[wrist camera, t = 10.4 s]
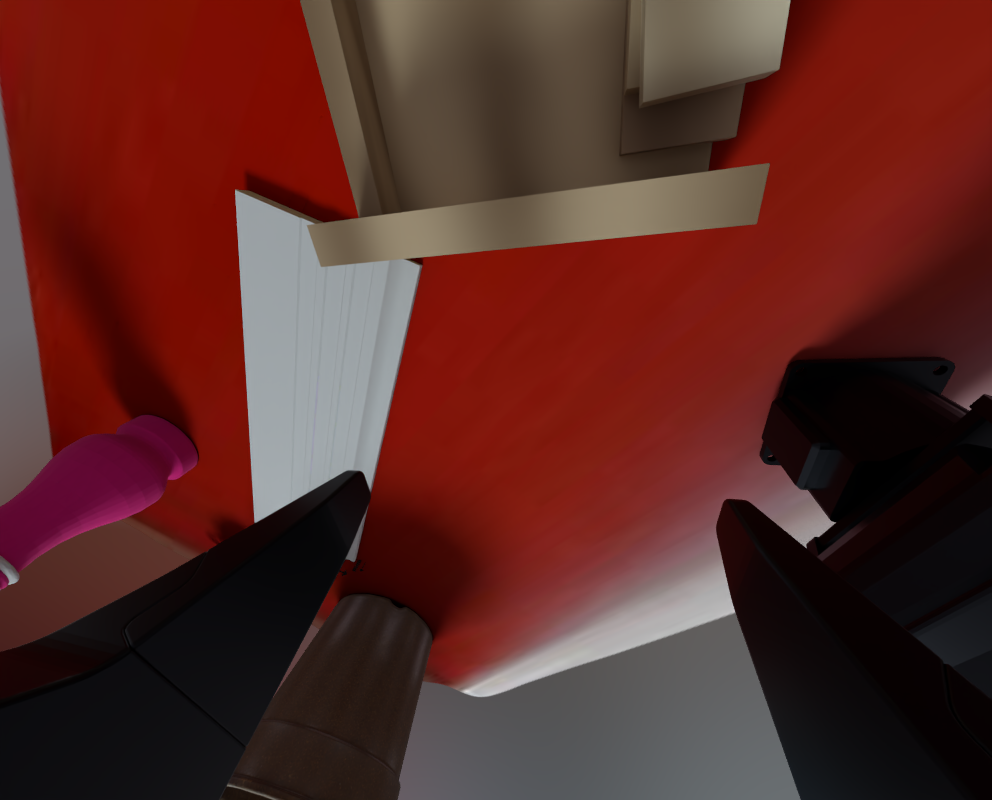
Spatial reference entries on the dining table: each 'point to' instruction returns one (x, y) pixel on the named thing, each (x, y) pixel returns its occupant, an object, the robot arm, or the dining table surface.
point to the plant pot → (341, 710)
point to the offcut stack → (693, 68)
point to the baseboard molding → (315, 355)
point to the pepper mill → (91, 488)
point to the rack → (498, 132)
